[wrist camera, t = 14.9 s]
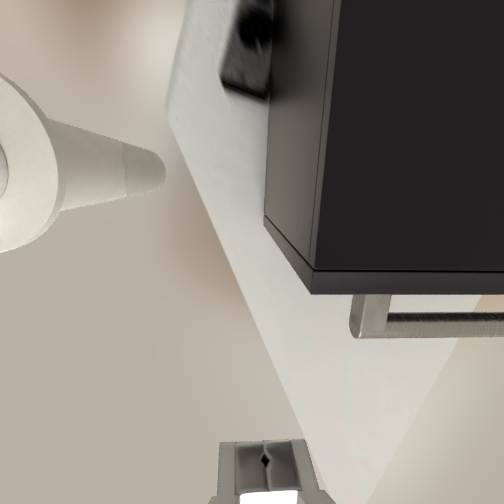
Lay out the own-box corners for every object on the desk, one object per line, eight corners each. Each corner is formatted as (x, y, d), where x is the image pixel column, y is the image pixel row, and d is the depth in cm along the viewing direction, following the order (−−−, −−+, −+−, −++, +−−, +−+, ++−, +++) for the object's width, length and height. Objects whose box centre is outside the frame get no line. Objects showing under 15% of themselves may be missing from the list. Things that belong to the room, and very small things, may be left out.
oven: (503, 219, 45) (846, 273, 20) (263, 213, 41) (313, 269, 16) (571, -19, 36) (1332, -453, 11) (276, -50, 33) (418, -761, 8)
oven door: (492, 259, 46) (790, 352, 22) (262, 256, 43) (303, 362, 18) (503, 220, 45) (841, 275, 20) (264, 215, 41) (313, 271, 17)
